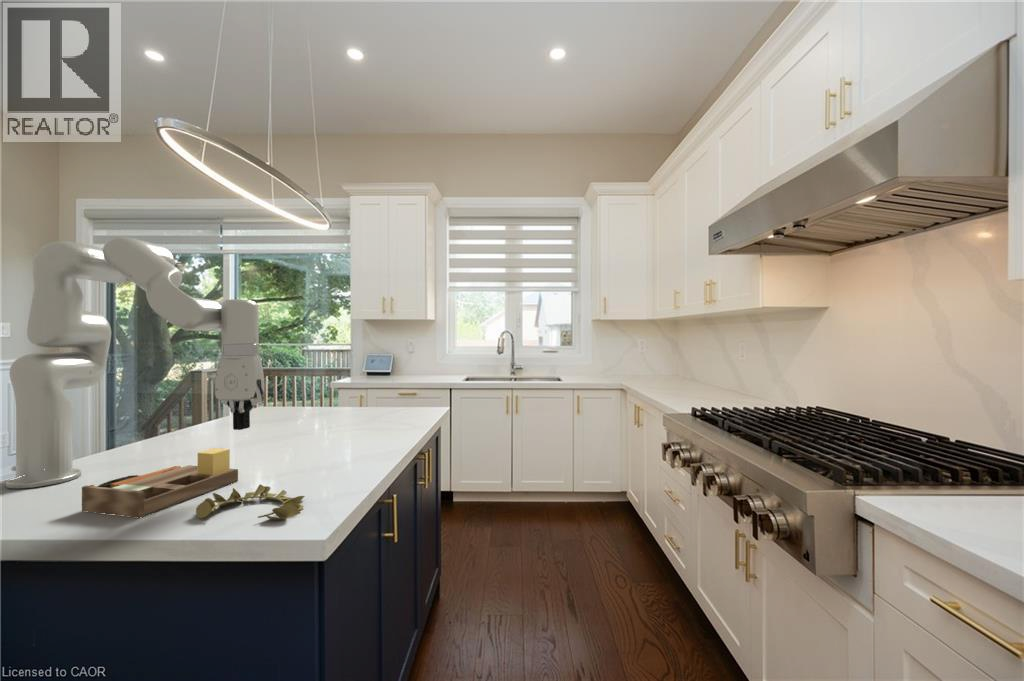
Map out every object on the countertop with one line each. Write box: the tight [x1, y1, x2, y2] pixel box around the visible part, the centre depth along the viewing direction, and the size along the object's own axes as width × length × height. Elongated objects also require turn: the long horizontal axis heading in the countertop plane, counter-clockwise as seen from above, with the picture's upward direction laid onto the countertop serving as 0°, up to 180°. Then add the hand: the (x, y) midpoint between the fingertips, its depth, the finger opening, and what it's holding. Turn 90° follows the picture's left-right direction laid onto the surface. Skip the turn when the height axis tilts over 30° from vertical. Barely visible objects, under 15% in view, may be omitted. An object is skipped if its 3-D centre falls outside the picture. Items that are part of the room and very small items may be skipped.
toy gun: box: [89, 465, 181, 488], centre depth 107 cm, size 15×2×10 cm
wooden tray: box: [81, 464, 239, 519], centre depth 97 cm, size 15×23×5 cm, turn 167°
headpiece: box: [195, 484, 306, 521], centre depth 90 cm, size 21×4×15 cm
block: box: [197, 447, 231, 475], centre depth 104 cm, size 4×4×5 cm
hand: (241, 428), depth 103 cm, fingers closed
